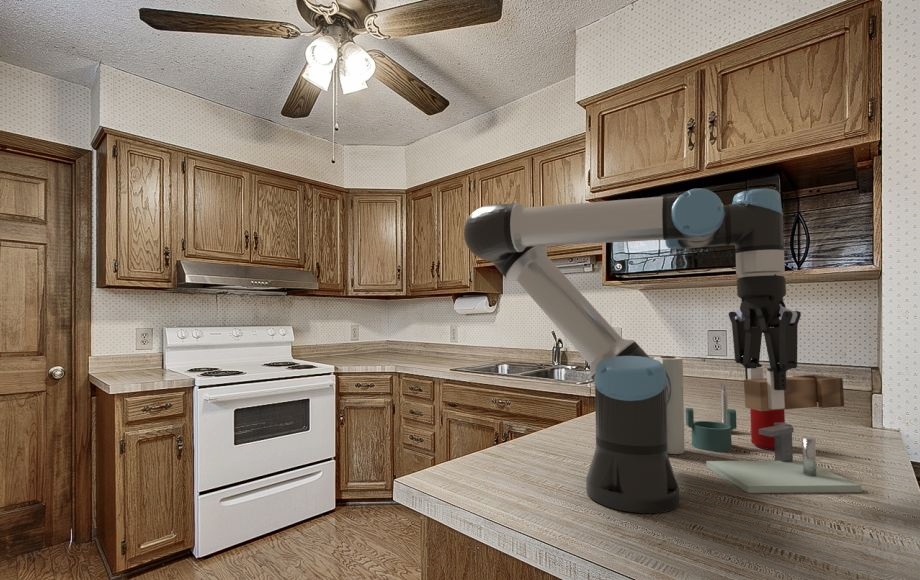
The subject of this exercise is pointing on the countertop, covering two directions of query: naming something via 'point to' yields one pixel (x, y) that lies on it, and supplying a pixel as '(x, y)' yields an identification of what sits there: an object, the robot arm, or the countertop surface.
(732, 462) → the base board
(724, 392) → the screw
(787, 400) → the link
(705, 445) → the teal hollow cylinder
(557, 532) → the countertop surface
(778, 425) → the keeper
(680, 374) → the paper towel roll
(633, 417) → the robot arm
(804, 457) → the cylinder
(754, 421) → the beverage can
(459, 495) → the countertop surface
